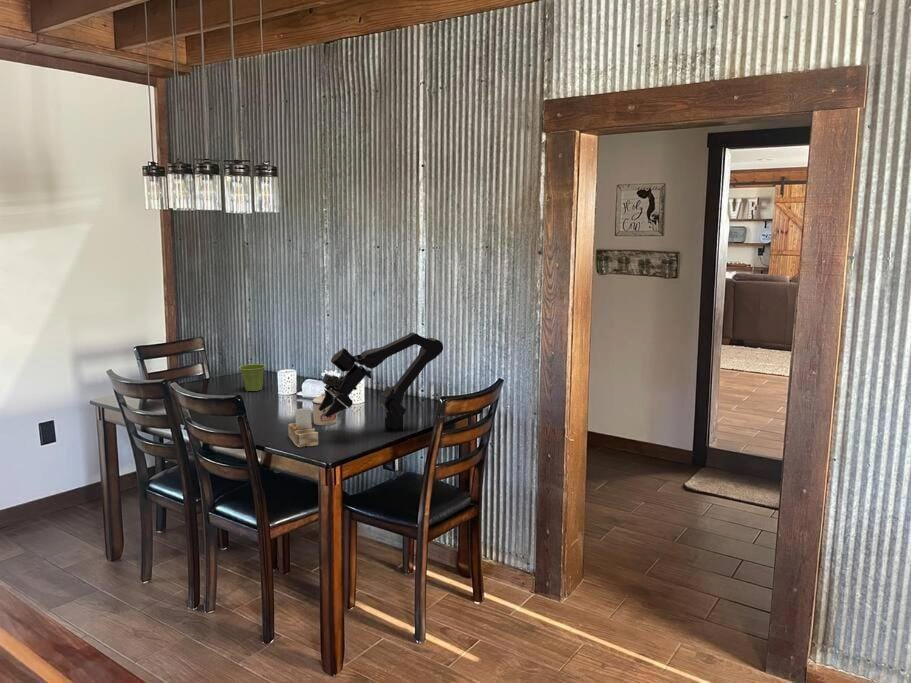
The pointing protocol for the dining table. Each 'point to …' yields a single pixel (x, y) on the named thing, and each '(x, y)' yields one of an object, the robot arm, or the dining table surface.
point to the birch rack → (302, 436)
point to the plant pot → (252, 376)
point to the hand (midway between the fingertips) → (322, 413)
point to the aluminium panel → (303, 419)
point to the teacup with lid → (322, 412)
